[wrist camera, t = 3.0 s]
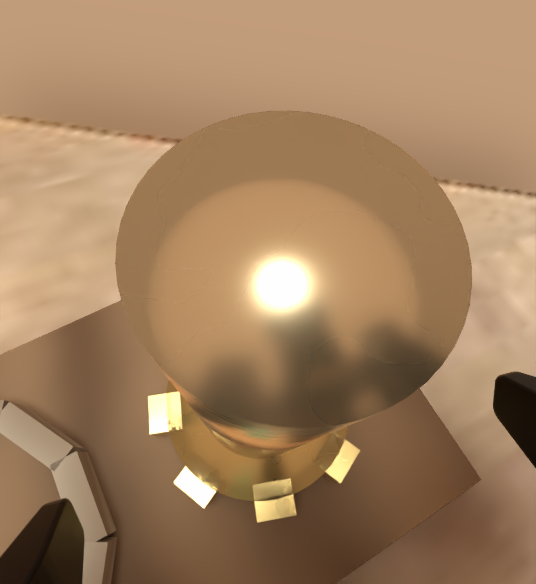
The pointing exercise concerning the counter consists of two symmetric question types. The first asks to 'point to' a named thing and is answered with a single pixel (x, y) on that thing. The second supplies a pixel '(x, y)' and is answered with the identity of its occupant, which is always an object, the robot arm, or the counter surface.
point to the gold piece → (286, 296)
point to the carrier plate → (167, 467)
